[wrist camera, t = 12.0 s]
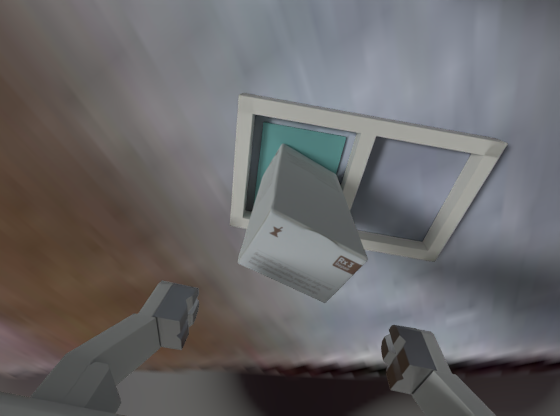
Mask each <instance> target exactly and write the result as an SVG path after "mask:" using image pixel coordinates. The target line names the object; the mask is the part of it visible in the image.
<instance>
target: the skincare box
mask: <svg viewBox="0 0 560 416" xmlns="http://www.w3.org/2000/svg"><path fill="white" fill-rule="evenodd" d="M367 260H368V258H367V255H366V253H365V250H364V247H363V245H362V242H361V239H360V237H359V234H358V231H357V229H356V226H355V223H354V221H353V218H352V215H351V213H350V210H349V207H348V205H347V202H346V199H345V197H344V194H343V191H342V189H341V186H340V183H339V180H338V178H337V175H336V174H334V173H333V172H331V171H329V170H328V169H326V168H324V167H323V166H321V165H319V164H318V163H316V162H314V161H312V160H311V159H309V158H307V157H306V156H304V155H302V154H301V153H299V152H297V151H296V150H294V149H292V148H291V147H289V146H287V145H285V144H281V146H280V147H279V149H278V151H277V153H276V154H275V156H274V158H273V159H272V161H271V163H270V164H269V166H268V168H267V170H266V171H265V173H264V175H263V177H262V180H261V184H260V187H259V190H258V194H257V197H256V200H255V203H254V207H253V210H252V214H251V217H250V220H249V224H248V227H247V230H246V234H245V238H244V242H243V244H242V247H241V250H240V254H239V258H238V264H240V265H243V266H245V267H247V268H249V269H252V270H254V271H256V272H258V273H260V274H263V275H265V276H267V277H269V278H271V279H274V280H276V281H278V282H280V283H282V284H285V285H287V286H289V287H291V288H293V289H295V290H298V291H300V292H302V293H304V294H306V295H309V296H311V297H313V298H315V299H317V300H319V301H321V302H323V303H326V302H327V301H328V300H329V299H330V298H331V297H332V296H333V295H334V294H335V293H336V292H337V291H338V290H339V289H340V288H341V287H342V286H343V285H344V284H345V283H346V282H347V281H348V280H349V279H350V278H351V277H352V276H353V275H354V273H355V272H356V271H357V270H358V269H359V268H360V267H361V266H363V265H364V264H365V263H366V262H367Z"/></svg>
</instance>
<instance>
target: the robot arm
mask: <svg viewBox="0 0 560 416" xmlns="http://www.w3.org/2000/svg"><path fill="white" fill-rule="evenodd" d="M198 294H199V289H198V288H194V287H190V286H185V285H181V284H176V283H171V282H166V281H161V282H160V283H159V284H158V285H157V287H156V288H155V290H154V291H153V293H152V294H151V296H150V297H149V299H148V300H147V302H146V303H145V305H144V306H143V307H142V309H141V310H140V312H139V313H138V314H133V315H131V316H129V317H128V318H126V319H124V320H123V321H121V322H119V323H118V324H116V325H114V326H112V327H111V328H109V329H107V330H106V331H104V332H102V333H101V334H99V335H97V336H96V337H94V338H92V339H91V340H89V341H87V342H86V343H84V344H82V345H80V346H79V347H77V348H75V349H74V350H72V351H70V352H69V353H67V354H65V356H64V357H63V358H62V359H61V360H60V362H59V363H58V364H57V365H56V366H55V368H54V369H53V370H52V371H51V372H50V374H49V375H48V376H47V377H46V379H45V380H44V381H43V382H42V384H41V385H40V386H39V387H38V388H37V389H36V391H35V392H34V393H33V394H32V395H31V397H27V396H21V395H16V394H11V393H6V392H0V416H125V415H119V414H116V412H117V410H118V408H119V406H120V404H121V399H120V396H119V393H118V391H117V388H116V385H117V384H119V383H120V382H121V381H122V380H123V379H125V378H126V377H127V376H128V375H129V374H130V373H132V372H133V371H134V370H135V369H136V368H137V367H139V366H140V365H141V364H142V363H143V362H144V361H146V360H147V359H148V358H149V357H150V356H151V355H153V354H154V353H155V352H156V351H157V350H158V349H160V347H166V348H172V349H179V350H182V348H183V346H184V344H185V341H186V339H187V337H188V335H189V327H190V326H191V325H193V323H194V321H195V319H196V316H197V312H198V307H199V301H198V299H197V297H198ZM389 332H390V334H389V335H387V336H385V337H384V339H383V341H382V346H381V352H382V357H383V361H384V362H385V363H386V364H387V366H388V368H387V371H386V374H387V378H388V382H389V386H390V389H391V390H394V391H398V392H402V393H407V394H412V397H413V398H414V400H415V401H416V403H417V404H418V405H419V407H420V408H421V410H422V411H423V413H424V414H425V416H496V415H495V414H494V413H493V412H492V411H491V410H490V409H489V408H488V407H487V406H486V405H485V404H484V403H483V402H482V401H481V400H480V399H479V398H478V397H477V396H476V395H475V394H474V393H473V392H472V391H471V390H470V389H469V388H468V387H467V386H466V385H465V384H464V383H463V382H462V381H461V380H460V379H459V378H458V377H457V376H456V375H455V374H452V373H451V371H450V369H449V367H448V364H447V362H446V360H445V358H444V356H443V354H442V351H441V349H440V347H439V345H438V343H437V340H436V338H435V336H434V334H433V333H432V332H430V331H425V330H419V329H416V328H410V327H404V326H398V325H392V326H391V327H390V329H389Z"/></svg>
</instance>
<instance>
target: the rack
mask: <svg viewBox="0 0 560 416" xmlns="http://www.w3.org/2000/svg"><path fill="white" fill-rule="evenodd" d="M255 114H256V115H262V116H267V117H273V118H278V119H284V120H290V121H295V122H301V123H306V124H312V125H317V126H323V127H328V128H334V129H340V130H345V131H351V132H356V133H357V134H356V137H355V141H354V144H353V147H352V150H351V154H350V157H349V160H348V163H347V167H346V170H345V173H344V176H343V180H342V183H341V189H342V191H343V194H344V197H345V199H346V202H347V205H348V207H349V210H351V207H352V204H353V201H354V199H355V196H356V193H357V190H358V187H359V184H360V181H361V178H362V176H363V173H364V170H365V167H366V164H367V161H368V158H369V155H370V152H371V150H372V147H373V144H374V141H375V138H376V136H379V137H384V138H390V139H395V140H401V141H406V142H412V143H417V144H423V145H429V146H434V147H440V148H445V149H451V150H456V151H462V152H467V153H471V155H470V157H469V159H468V161H467V162H466V164H465V166H464V168H463V170H462V171H461V173H460V175H459V177H458V179H457V180H456V182H455V184H454V186H453V188H452V189H451V191H450V193H449V195H448V197H447V198H446V200H445V202H444V204H443V206H442V207H441V209H440V211H439V213H438V215H437V216H436V218H435V220H434V222H433V224H432V225H431V227H430V229H429V231H428V233H427V234H426V236H425V238H424V240H423V242H421V241H415V240H409V239H404V238H398V237H392V236H387V235H381V234H375V233H370V232H364V231H359V230H357V231H358V234H359V237H360V239H361V242H362V245H363V247H364V250H369V251H375V252H381V253H386V254H392V255H398V256H403V257H409V258H415V259H420V260H426V261H432V262H435V261H436V259H437V257H438V256H439V254H440V252H441V251H442V249H443V248H444V246H445V244H446V243H447V241H448V240H449V238H450V236H451V235H452V233H453V231H454V230H455V228H456V227H457V225H458V223H459V222H460V220H461V219H462V217H463V215H464V214H465V212H466V210H467V209H468V207H469V206H470V204H471V202H472V201H473V199H474V198H475V196H476V194H477V193H478V191H479V189H480V188H481V186H482V185H483V183H484V181H485V180H486V178H487V176H488V175H489V173H490V172H491V170H492V168H493V167H494V165H495V164H496V162H497V160H498V159H499V157H500V155H501V154H502V152H503V151H504V149H505V147H506V146H507V144H508V143H505V142H503V141H501V140H498V139H496V138H490V137H485V136H479V135H474V134H468V133H463V132H457V131H452V130H446V129H441V128H435V127H429V126H424V125H418V124H413V123H407V122H402V121H396V120H391V119H385V118H380V117H374V116H368V115H363V114H357V113H352V112H346V111H341V110H335V109H330V108H324V107H319V106H313V105H307V104H302V103H296V102H291V101H285V100H280V99H274V98H269V97H263V96H258V95H252V94H247V93H242V94H240V95H239V101H238V116H237V130H236V145H235V160H234V174H233V189H232V204H231V218H230V226H233V227H239V228H245V229H247V227H248V224H249V220H250V217H251V214H252V212H251V211H246V201H247V192H248V182H249V172H250V162H251V153H252V143H253V133H254V123H255ZM345 140H346V137H345V136H339V135H334V134H328V133H323V132H317V131H311V130H306V129H300V128H295V127H289V126H284V125H278V124H272V123H267V122H264V123H263V132H262V140H261V149H260V157H259V165H258V174H257V182H256V190H255V199H254V203H255V200H256V197H257V194H258V190H259V187H260V184H261V180H262V177H263V175H264V173H265V171H266V170H267V168H268V166H269V164H270V163H271V161H272V159H273V158H274V156H275V154H276V153H277V151H278V149H279V147H280V146H281V144H285V145H287V146H289V147H291V148H292V149H294V150H296V151H297V152H299V153H301V154H302V155H304V156H306V157H307V158H309V159H311V160H312V161H314V162H316V163H318V164H319V165H321V166H323V167H324V168H326V169H328V170H329V171H331V172H333V173H334V174H336V172H337V168H338V165H339V161H340V158H341V154H342V151H343V147H344V144H345Z"/></svg>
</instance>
